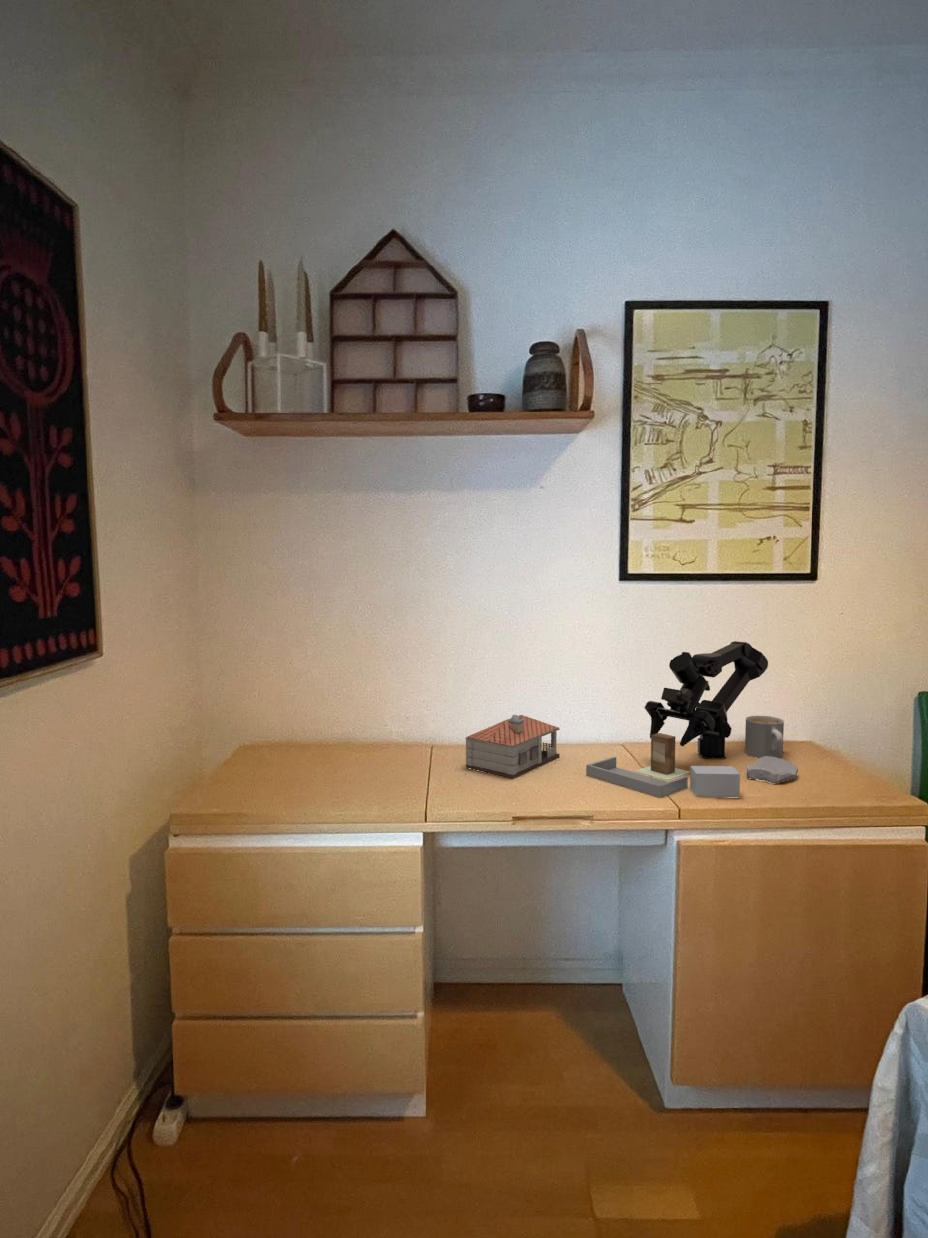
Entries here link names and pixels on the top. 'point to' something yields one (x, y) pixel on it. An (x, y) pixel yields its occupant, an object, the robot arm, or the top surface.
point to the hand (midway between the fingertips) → (665, 741)
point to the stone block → (772, 770)
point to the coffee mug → (764, 736)
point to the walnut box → (663, 753)
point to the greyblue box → (715, 781)
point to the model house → (511, 747)
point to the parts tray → (634, 779)
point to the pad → (662, 776)
